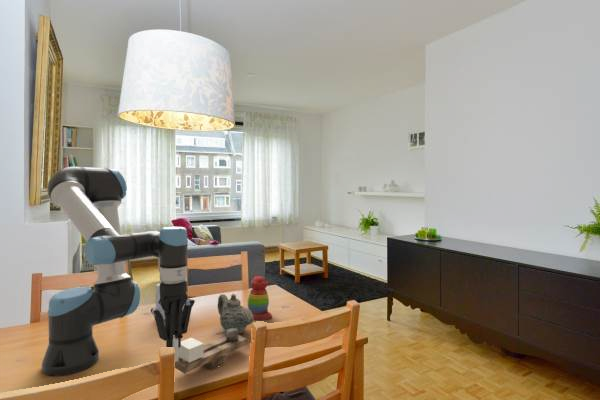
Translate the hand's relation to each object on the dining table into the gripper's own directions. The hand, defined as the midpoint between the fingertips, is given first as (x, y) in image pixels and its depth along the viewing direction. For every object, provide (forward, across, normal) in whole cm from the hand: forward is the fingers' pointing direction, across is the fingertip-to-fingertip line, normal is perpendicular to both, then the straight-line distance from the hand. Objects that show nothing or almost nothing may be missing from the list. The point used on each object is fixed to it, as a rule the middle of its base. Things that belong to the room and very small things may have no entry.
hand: (173, 360), depth 100 cm
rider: (+3, +6, 0) cm, 6 cm away
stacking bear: (+7, +52, +19) cm, 56 cm away
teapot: (+7, +35, +14) cm, 38 cm away
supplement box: (+7, +26, +47) cm, 55 cm away
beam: (+7, +14, 0) cm, 15 cm away
